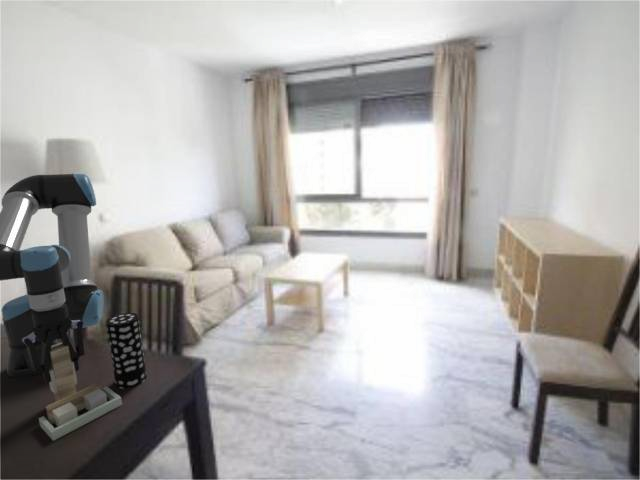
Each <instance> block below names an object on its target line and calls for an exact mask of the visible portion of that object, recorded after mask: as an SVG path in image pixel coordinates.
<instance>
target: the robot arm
mask: <svg viewBox="0 0 640 480" xmlns="http://www.w3.org/2000/svg"><path fill="white" fill-rule="evenodd" d="M96 205H97V199H96V194H95V191H94V187H93V183H92V182H91V179H90V177H89V176H88V175H87V174H84V173H63V174H62V173H60V174H58V173H57V174H35V175H30V176H27V177H24V178H22V179H20V180H19V181H17V182H16V183H14V184H13V185H11V187H9V188H8V189H7V190H6V192H4V195H3V196H2V199H1V206H2V208H1V211H0V281H1V282H2V281H8V280H16V279H24V283H25V288H26V293H27V294H24V295H21V296H19V297H16V298H13V299H11V300H10V301H9V300H8V301H7V302H5V304H3V305H2V308H1V315H2V319H1V320H2V322H3V326H4V330H5V335H6V340H7V343H8V348H9V351H8V354H7V356H8V357H7V359H6V360H7V361H6V366H5V367H6V373H7V376H9V377H11V378H25V377H26V378H27V377H33V376H36V375H39V374H42V377H43V380H44V381H45V383H46V384H48V383H49V387H50V391H51V392H53V394H54V393H57V392H58V390H57V385H56V380H55V375H54V370H53V369H52V368H50V351H51V346H53V345H56V344H59V343H60V342H59V341H58V340H60V341H61V343H63V344H64V345H66V346H68V347H69V353H70V358H71V364H72V369H73V374H74V380H75V385H77V384H78V378H77V372H78V371H79V370H80V367H79V362H78V361H79V359H80V357H82V356H84V355H85V346H84V339H83V332H82V331H83V330H82V329H85V328H87V327H91V326H96V325H98V324H99V323H100V322H101V321H102V318H103V313H104V306H105V305H104V291H103V290H101V289H98V285H97V284H96V283H94V282H93V280H92V273H91V272H92V269H91V268H92V267H91V255H90V254H91V253H90V241H89V229H88V228H89V227H88V225H89V224H88V215H89V214H91V212H92V207H95V206H96ZM44 209H47V210H48V209H51V212H52V214H54V215H55V216H56V217H57V230H58V231H57V233H58V244H51V245H38V246H33V247H29V248H25V249H21V246H22V244H23V242H24V239H25V235H26V234H27V230H28V228H29V225H30V222H31V220H32V217H33V216H34V215H36V214H37V212H38V211H39V210H44ZM20 249H21V250H20ZM70 330H72V333H73V339H74V346H75V349H74V347H73V345H72V343H71V341H70V338H69V337H70V336H69V335H68V334H67V333H68V332H69V331H70ZM76 371H77V372H76Z"/></svg>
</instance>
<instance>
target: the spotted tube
mask: <svg viewBox="0 0 640 480" xmlns="http://www.w3.org/2000/svg"><path fill="white" fill-rule="evenodd" d="M105 324H106V325H105V326H106V332H107V337H108V344H109V352H110V357H111V363H112V369H113V375H114V376H113V377H114V381H115V386H116V387H117V388H118V389H131V388H134V387H136V386H137V387H138V386H139V385H141V384H142V383H144V382H145V381H146V379H147V375H148V374H147V368H146V362H145V356H144V355H145V353H144V348H143V347H144V346H143V340H142V332H141V327H140V319H139V314H137V313H135V312H124V313H119V314H115V315H113V316H111V317H109V318H108V319H106V321H105Z"/></svg>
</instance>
